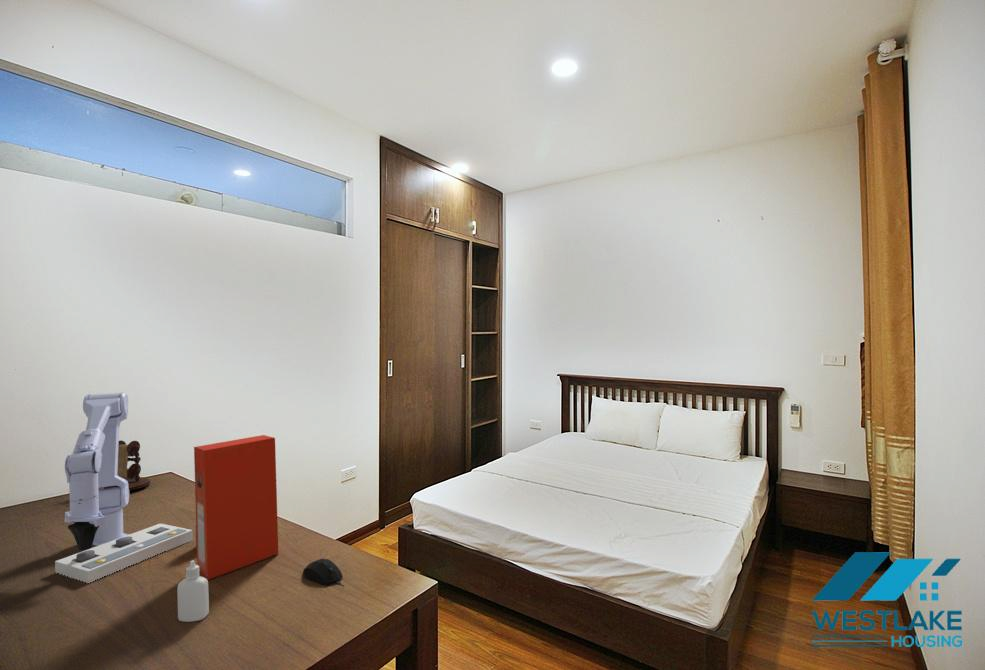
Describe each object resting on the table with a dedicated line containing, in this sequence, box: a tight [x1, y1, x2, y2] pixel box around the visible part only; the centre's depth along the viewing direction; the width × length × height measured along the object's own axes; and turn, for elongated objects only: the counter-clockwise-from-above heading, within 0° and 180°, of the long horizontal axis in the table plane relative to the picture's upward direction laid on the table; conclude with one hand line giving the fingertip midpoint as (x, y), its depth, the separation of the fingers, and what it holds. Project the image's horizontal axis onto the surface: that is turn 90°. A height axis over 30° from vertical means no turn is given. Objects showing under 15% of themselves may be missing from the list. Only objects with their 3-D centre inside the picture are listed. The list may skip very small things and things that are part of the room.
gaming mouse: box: [302, 558, 345, 588], centre depth 115 cm, size 6×15×4 cm, turn 53°
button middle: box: [116, 536, 132, 548], centre depth 131 cm, size 4×4×2 cm
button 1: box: [76, 550, 95, 563], centre depth 122 cm, size 4×4×2 cm
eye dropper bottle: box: [176, 560, 210, 623], centre depth 99 cm, size 4×6×12 cm
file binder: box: [193, 434, 279, 580], centre depth 124 cm, size 8×17×32 cm, turn 139°
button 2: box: [151, 528, 165, 535], centre depth 139 cm, size 4×4×2 cm
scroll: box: [103, 440, 151, 491], centre depth 189 cm, size 15×15×20 cm
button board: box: [54, 523, 194, 584], centre depth 130 cm, size 15×26×3 cm, turn 157°
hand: (85, 549), depth 122 cm, fingers closed
